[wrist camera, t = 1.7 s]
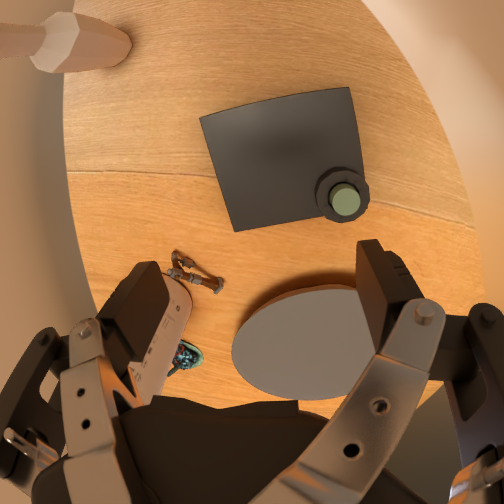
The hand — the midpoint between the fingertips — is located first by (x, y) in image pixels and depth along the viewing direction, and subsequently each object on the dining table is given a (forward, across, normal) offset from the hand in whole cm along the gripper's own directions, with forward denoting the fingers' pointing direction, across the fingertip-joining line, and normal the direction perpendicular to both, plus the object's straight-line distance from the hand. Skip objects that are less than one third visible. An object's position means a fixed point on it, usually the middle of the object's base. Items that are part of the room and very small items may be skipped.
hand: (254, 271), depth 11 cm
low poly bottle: (+22, +16, -18) cm, 33 cm away
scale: (+22, -2, 0) cm, 22 cm away
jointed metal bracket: (+22, +12, +13) cm, 28 cm away
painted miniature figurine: (+22, +21, +32) cm, 45 cm away
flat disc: (+22, -4, +29) cm, 37 cm away
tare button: (+19, -7, +4) cm, 21 cm away
